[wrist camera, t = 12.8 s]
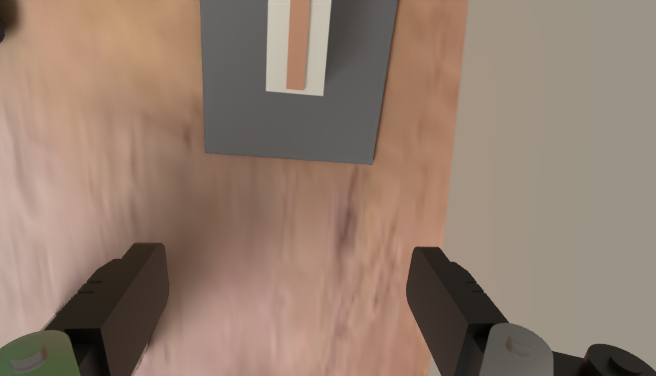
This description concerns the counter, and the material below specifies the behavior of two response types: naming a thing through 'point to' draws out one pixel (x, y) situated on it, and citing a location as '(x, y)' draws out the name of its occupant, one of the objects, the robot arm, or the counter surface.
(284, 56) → the block
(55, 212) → the counter surface
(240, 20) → the rubber mat
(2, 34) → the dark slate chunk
